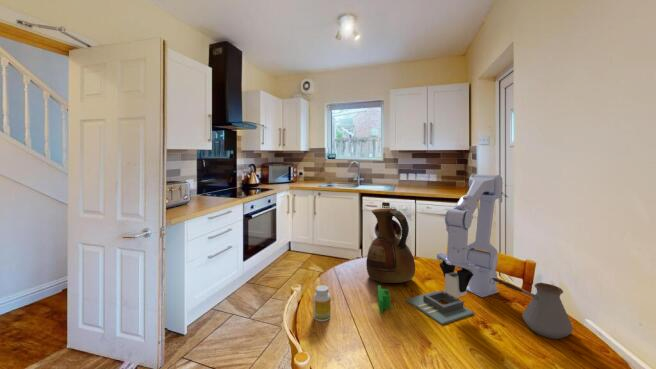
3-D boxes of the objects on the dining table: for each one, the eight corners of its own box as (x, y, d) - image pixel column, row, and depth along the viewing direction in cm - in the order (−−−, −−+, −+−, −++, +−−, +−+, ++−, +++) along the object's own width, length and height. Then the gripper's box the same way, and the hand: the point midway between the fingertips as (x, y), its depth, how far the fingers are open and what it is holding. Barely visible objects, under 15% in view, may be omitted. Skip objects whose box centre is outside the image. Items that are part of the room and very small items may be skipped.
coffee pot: (554, 320, 85) (557, 273, 84) (583, 345, 74) (587, 291, 73) (480, 315, 88) (482, 270, 87) (497, 338, 77) (500, 286, 76)
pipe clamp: (391, 314, 89) (391, 301, 89) (379, 313, 90) (379, 300, 89) (387, 297, 100) (388, 285, 100) (377, 296, 101) (377, 284, 100)
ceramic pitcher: (382, 266, 130) (383, 203, 127) (423, 279, 116) (425, 208, 113) (356, 279, 115) (356, 208, 113) (399, 295, 102) (401, 214, 99)
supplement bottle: (311, 315, 89) (310, 286, 88) (326, 311, 91) (325, 282, 90) (317, 323, 84) (317, 293, 83) (333, 319, 86) (333, 289, 85)
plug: (454, 288, 92) (455, 270, 91) (466, 294, 88) (467, 275, 87) (444, 291, 90) (445, 273, 90) (456, 297, 86) (457, 278, 86)
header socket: (435, 292, 103) (435, 283, 103) (473, 314, 89) (474, 303, 89) (406, 300, 98) (406, 290, 97) (441, 324, 83) (442, 313, 83)
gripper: (430, 242, 93) (429, 281, 94) (468, 255, 80) (467, 301, 81) (445, 239, 96) (444, 277, 97) (485, 252, 83) (483, 295, 84)
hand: (455, 288), depth 89 cm, fingers closed on plug, 4 cm apart
